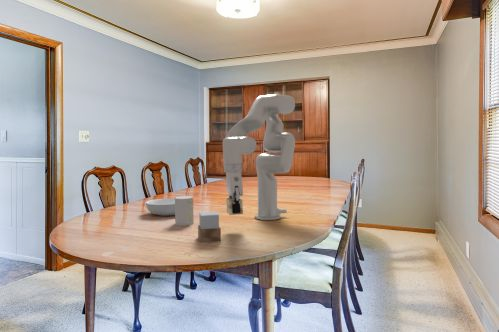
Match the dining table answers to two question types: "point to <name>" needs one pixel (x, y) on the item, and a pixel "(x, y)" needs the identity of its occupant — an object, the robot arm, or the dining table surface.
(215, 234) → the walnut block
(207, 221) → the grey block
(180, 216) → the cup
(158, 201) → the serving bowl
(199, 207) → the dining table surface
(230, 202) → the maple cube
